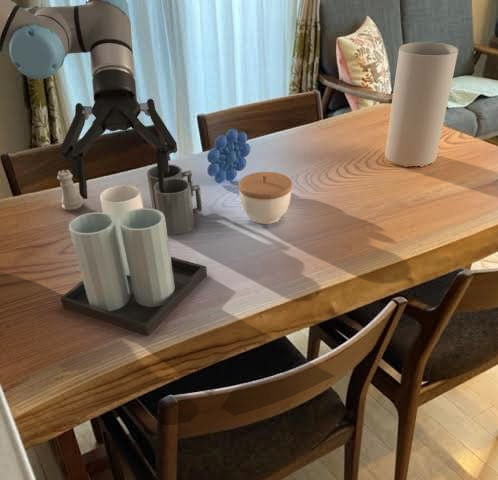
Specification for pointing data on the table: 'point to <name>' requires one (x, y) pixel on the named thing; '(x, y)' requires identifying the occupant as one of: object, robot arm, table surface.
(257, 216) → the trinket box
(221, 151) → the grapes
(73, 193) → the rook chess piece
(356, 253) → the table surface
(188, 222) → the grey mug near
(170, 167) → the grey mug far
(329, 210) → the table surface
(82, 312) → the tray
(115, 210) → the drinking glass
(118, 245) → the tumbler
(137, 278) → the tumbler
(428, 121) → the cylinder vase
